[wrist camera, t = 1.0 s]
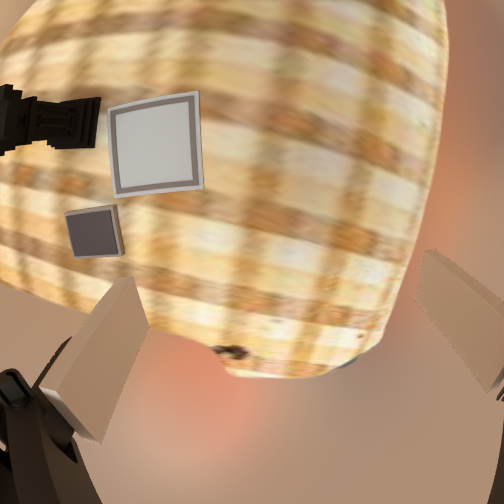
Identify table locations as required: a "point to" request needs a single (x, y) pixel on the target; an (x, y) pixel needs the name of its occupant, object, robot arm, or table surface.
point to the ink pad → (94, 232)
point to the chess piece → (46, 121)
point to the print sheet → (156, 145)
